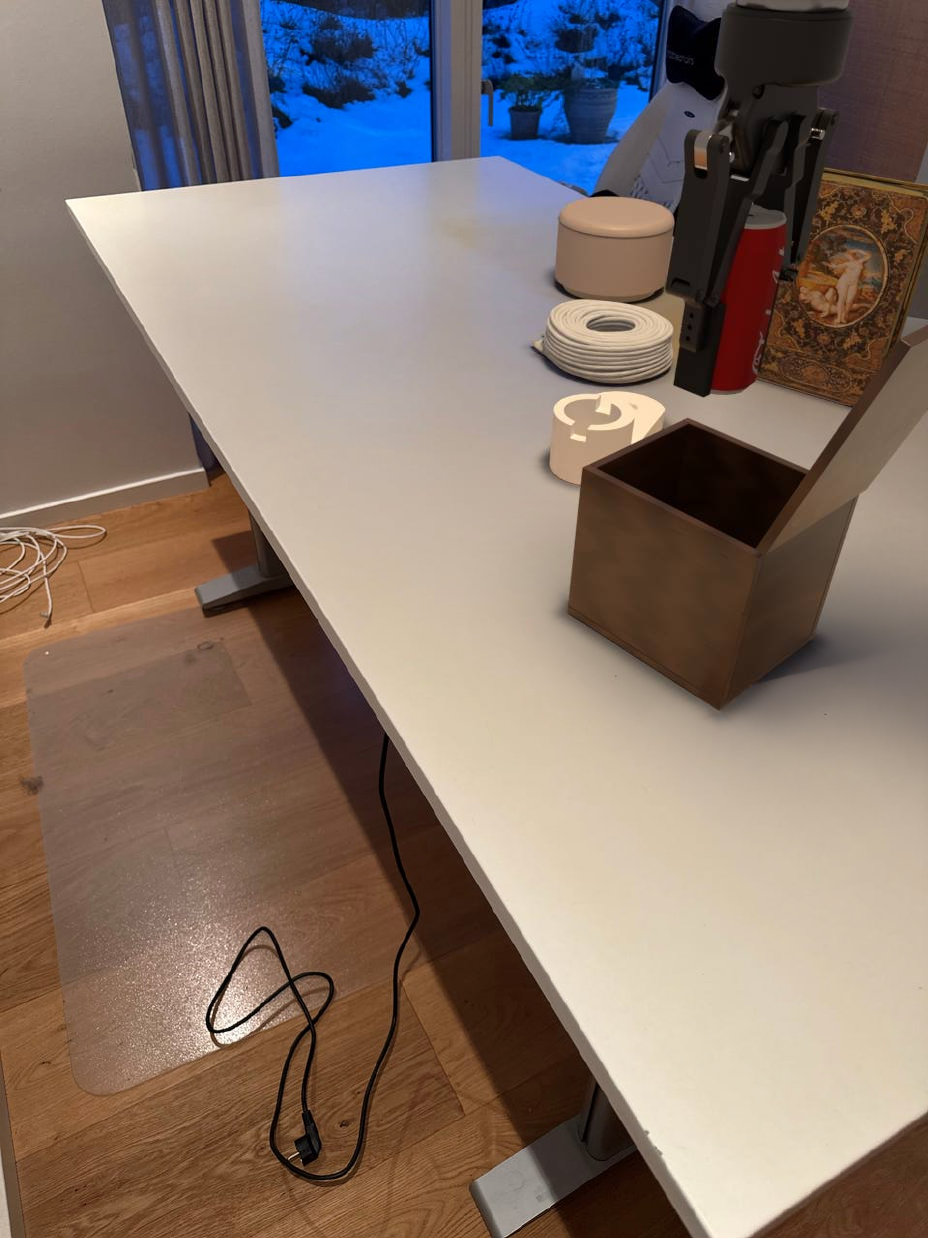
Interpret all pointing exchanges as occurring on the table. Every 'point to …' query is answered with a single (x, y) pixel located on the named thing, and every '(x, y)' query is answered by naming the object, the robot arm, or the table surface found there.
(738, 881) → the table surface
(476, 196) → the table surface
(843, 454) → the lid
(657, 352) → the cable
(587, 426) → the bracket
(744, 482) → the bin
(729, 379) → the soda can
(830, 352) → the book
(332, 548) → the table surface
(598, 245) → the container
